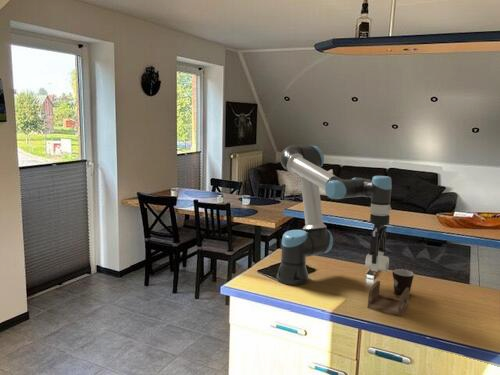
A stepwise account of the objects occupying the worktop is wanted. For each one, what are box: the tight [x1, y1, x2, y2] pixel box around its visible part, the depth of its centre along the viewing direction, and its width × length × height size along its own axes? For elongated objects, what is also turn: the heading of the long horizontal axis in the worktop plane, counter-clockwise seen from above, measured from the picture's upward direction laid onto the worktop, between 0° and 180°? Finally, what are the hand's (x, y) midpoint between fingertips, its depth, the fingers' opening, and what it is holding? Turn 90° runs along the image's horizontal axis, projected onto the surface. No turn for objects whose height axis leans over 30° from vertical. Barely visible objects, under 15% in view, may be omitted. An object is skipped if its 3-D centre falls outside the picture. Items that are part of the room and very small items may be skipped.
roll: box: [364, 253, 390, 272], centre depth 174 cm, size 8×6×6 cm
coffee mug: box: [392, 268, 415, 297], centre depth 190 cm, size 12×9×10 cm
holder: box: [367, 280, 410, 318], centre depth 174 cm, size 14×12×8 cm
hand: (376, 268), depth 174 cm, fingers closed on roll, 6 cm apart
